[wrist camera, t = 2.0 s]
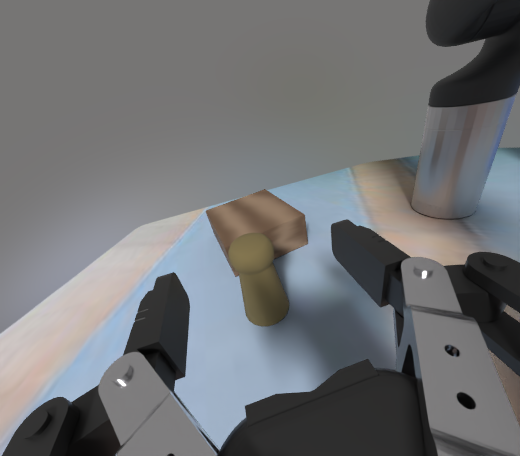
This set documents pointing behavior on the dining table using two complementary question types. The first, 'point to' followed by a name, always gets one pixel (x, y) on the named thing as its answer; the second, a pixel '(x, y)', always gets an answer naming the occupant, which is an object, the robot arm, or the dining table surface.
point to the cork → (258, 279)
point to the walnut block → (259, 222)
